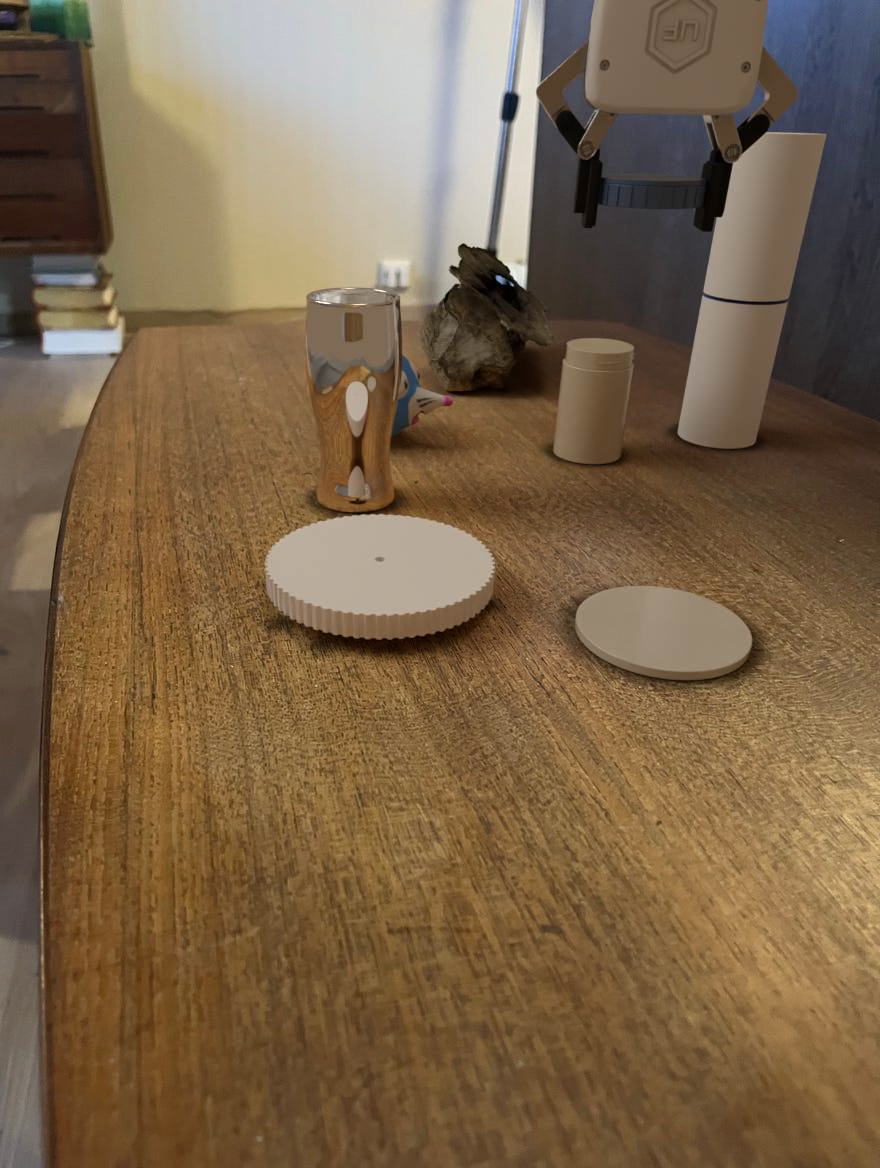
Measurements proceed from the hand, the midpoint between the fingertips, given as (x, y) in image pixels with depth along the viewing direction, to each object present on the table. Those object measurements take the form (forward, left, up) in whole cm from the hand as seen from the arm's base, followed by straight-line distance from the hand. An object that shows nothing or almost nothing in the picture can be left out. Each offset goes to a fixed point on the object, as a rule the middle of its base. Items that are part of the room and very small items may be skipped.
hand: (645, 225), depth 59 cm
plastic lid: (+5, +23, -20) cm, 31 cm away
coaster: (-11, +17, -20) cm, 29 cm away
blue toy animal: (+22, -2, -20) cm, 30 cm away
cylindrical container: (-2, -22, -20) cm, 29 cm away
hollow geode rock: (+28, -31, -20) cm, 46 cm away
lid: (0, 0, +3) cm, 3 cm away
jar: (+6, -10, -20) cm, 23 cm away
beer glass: (+16, +11, -20) cm, 28 cm away
